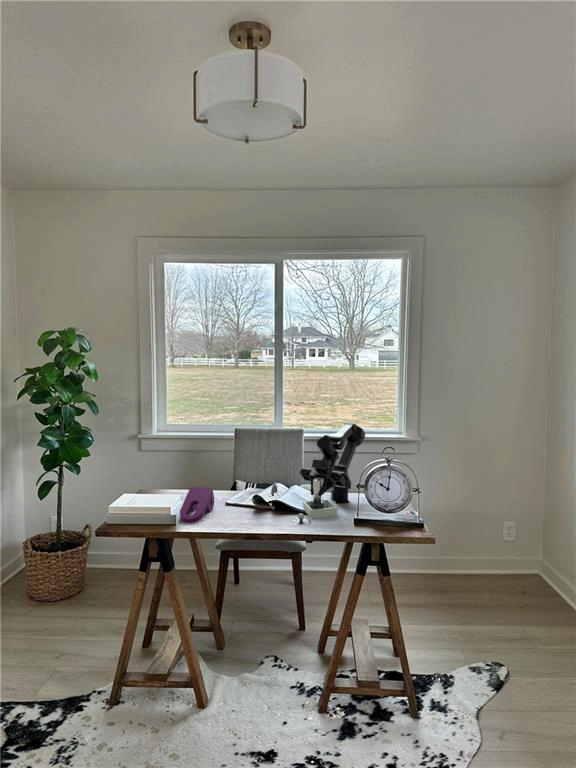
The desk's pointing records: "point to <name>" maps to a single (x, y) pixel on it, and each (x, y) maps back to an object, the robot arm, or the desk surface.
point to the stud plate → (301, 520)
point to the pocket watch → (274, 488)
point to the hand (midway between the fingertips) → (315, 495)
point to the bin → (323, 512)
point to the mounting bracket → (197, 503)
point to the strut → (316, 495)
